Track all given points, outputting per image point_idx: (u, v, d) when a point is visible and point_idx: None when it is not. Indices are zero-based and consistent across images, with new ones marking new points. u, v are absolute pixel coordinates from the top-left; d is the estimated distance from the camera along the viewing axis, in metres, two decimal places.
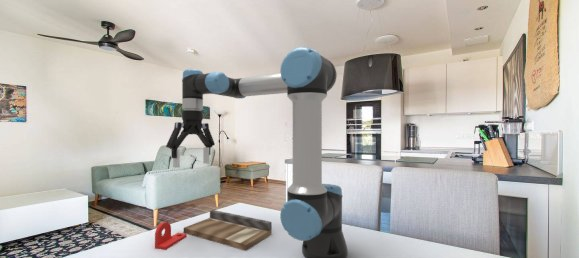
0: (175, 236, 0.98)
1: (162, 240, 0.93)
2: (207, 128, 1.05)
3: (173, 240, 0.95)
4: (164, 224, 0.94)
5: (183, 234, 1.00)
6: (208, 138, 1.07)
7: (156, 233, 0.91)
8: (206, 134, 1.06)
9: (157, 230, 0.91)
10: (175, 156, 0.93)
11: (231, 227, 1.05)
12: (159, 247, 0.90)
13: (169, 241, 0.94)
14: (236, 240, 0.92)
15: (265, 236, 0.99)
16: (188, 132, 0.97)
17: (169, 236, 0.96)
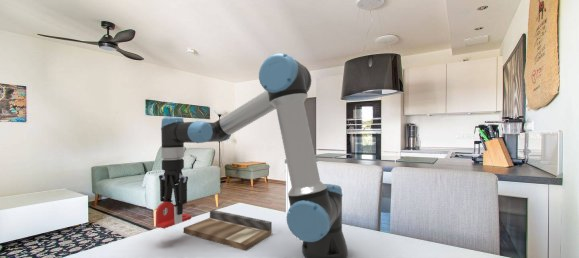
0: None
1: (164, 219, 0.93)
2: (180, 182, 0.92)
3: None
4: (166, 203, 0.94)
5: (188, 215, 1.00)
6: None
7: (157, 211, 0.92)
8: None
9: (158, 208, 0.92)
10: None
11: (231, 227, 1.05)
12: (159, 225, 0.91)
13: (171, 220, 0.94)
14: (236, 240, 0.92)
15: (265, 236, 0.99)
16: (165, 183, 0.95)
17: (172, 216, 0.97)
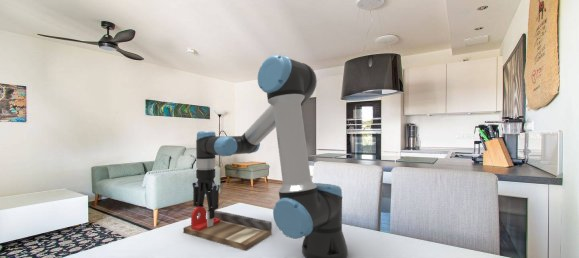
0: None
1: (197, 222, 1.05)
2: (213, 190, 1.03)
3: None
4: (199, 208, 1.06)
5: (217, 219, 1.11)
6: None
7: (192, 215, 1.03)
8: None
9: (193, 213, 1.03)
10: (198, 214, 1.08)
11: (231, 227, 1.05)
12: (194, 228, 1.02)
13: (203, 223, 1.06)
14: (236, 240, 0.92)
15: (265, 236, 0.99)
16: (199, 190, 1.06)
17: (204, 219, 1.08)
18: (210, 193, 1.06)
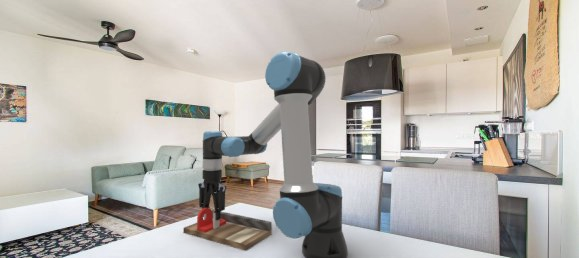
0: None
1: (203, 223, 1.03)
2: (219, 191, 1.02)
3: None
4: (205, 209, 1.04)
5: (223, 220, 1.10)
6: None
7: (198, 216, 1.01)
8: None
9: (199, 214, 1.02)
10: (204, 215, 1.06)
11: (231, 227, 1.05)
12: (200, 229, 1.01)
13: (210, 225, 1.04)
14: (236, 240, 0.92)
15: (265, 236, 0.99)
16: (205, 191, 1.05)
17: (210, 221, 1.06)
18: (216, 194, 1.04)
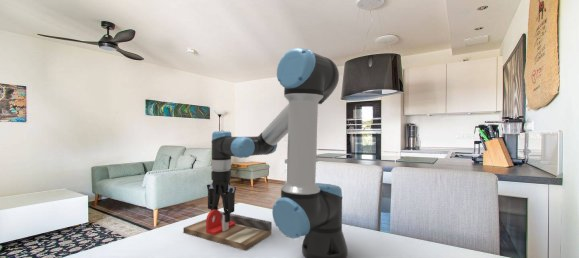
0: None
1: (212, 226, 1.01)
2: (229, 193, 0.99)
3: None
4: (214, 211, 1.02)
5: (232, 222, 1.07)
6: None
7: (207, 219, 0.99)
8: None
9: (208, 216, 0.99)
10: None
11: (231, 227, 1.05)
12: (209, 232, 0.98)
13: (219, 227, 1.02)
14: (236, 240, 0.92)
15: (265, 236, 0.99)
16: (214, 193, 1.02)
17: (219, 223, 1.04)
18: (226, 196, 1.02)
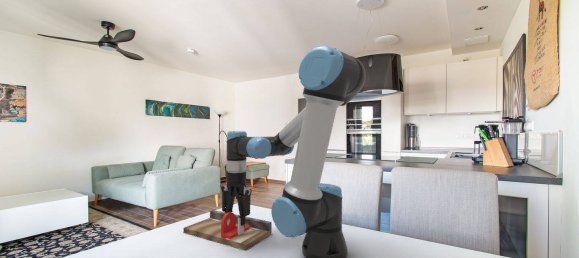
0: None
1: (227, 229, 0.97)
2: (245, 195, 0.95)
3: (237, 230, 0.98)
4: (229, 214, 0.98)
5: (247, 225, 1.03)
6: None
7: (222, 222, 0.95)
8: None
9: (223, 219, 0.96)
10: None
11: None
12: (225, 235, 0.94)
13: (234, 231, 0.98)
14: (236, 240, 0.92)
15: (265, 236, 0.99)
16: (229, 195, 0.99)
17: (234, 226, 1.00)
18: (241, 198, 0.98)
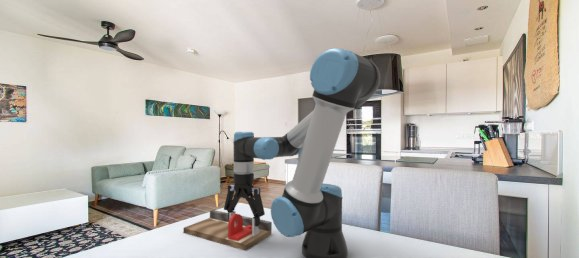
0: (246, 228, 1.00)
1: (234, 231, 0.95)
2: (254, 195, 0.93)
3: (244, 232, 0.97)
4: (236, 215, 0.96)
5: None
6: None
7: (229, 223, 0.94)
8: None
9: (230, 221, 0.94)
10: None
11: None
12: (232, 237, 0.93)
13: (241, 232, 0.96)
14: None
15: (265, 236, 0.99)
16: (235, 196, 0.97)
17: (241, 228, 0.98)
18: (251, 198, 0.95)
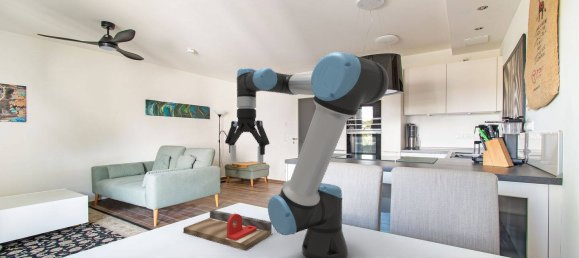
0: (246, 228, 1.01)
1: (233, 231, 0.96)
2: (257, 126, 0.98)
3: (243, 232, 0.97)
4: (235, 215, 0.96)
5: (253, 227, 1.02)
6: None
7: (228, 223, 0.94)
8: None
9: (229, 220, 0.94)
10: None
11: None
12: (230, 237, 0.93)
13: (240, 232, 0.96)
14: None
15: (265, 236, 0.99)
16: (237, 130, 1.02)
17: (240, 227, 0.99)
18: (255, 131, 1.00)
